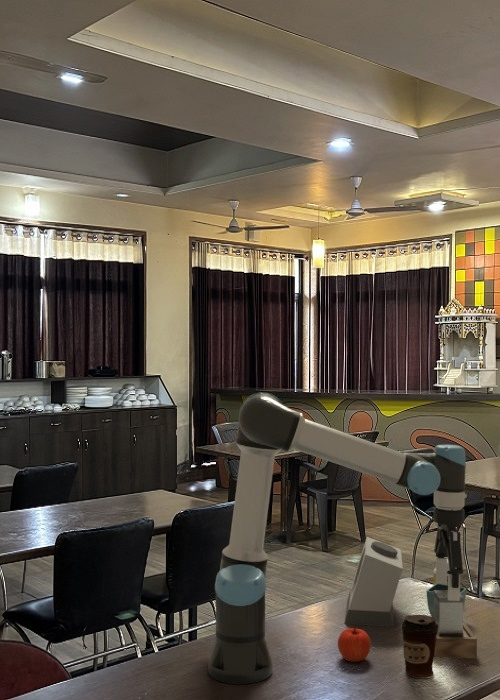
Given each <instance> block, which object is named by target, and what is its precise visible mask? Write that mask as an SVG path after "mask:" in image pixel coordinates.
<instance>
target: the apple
mask: <svg viewBox="0 0 500 700" xmlns="http://www.w3.org/2000/svg"><path fill="white" fill-rule="evenodd" d="M371 644H372V643H371V639H370V635H368V633H367V632H366V631H365V630H364V629H359V628H357V626H354V627H352V628H351V627H350V628H346V629H344V630H343V631H341V633H340V634H339V636H338V639H337V648H338V651H339V653H340V655H341V657H343V658H344V659H345V660H346V661H348V662H353V663H357V662H358V663H359V662H362V661H364V660H365V659H366V658H367V657H368V655H369V653H370V652H371V651H370V650H371Z"/></svg>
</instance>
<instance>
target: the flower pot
mask: <svg viewBox="0 0 500 700" xmlns="http://www.w3.org/2000/svg"><path fill="white" fill-rule="evenodd" d="M434 590H448V585H445V584H435V585H433V584H432V586H430V587H429V588H428V589H426V601H427V608H428V612H429V614H430V616H431V617H433V618H434ZM460 594H461V595H462V597H463V598H464V603H463V609H464V608H465V604H466V603H465V601H466V596H467V587H466V588H465V587H461V586H460Z"/></svg>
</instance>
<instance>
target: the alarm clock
mask: <svg viewBox="0 0 500 700" xmlns="http://www.w3.org/2000/svg"><path fill="white" fill-rule="evenodd" d="M359 558H360V559H359V561H358V564H357V567H356V571H355V574H354V577H353V580H352V583H351V584H352V585H351V587H350V591H349V594H348V596H347V602H346V608H345V618H344V624H345V625H347V624H348V625H361V626H378V627H379V626H380V627H381V626H382V627H395V623H394V603H393V602H394V599H395V596H396V593H397V588H398V586H399V582H400V579H401V576H402V572H403V569H404V567H403V559H402V558H403V557H402V549H400V548H398V547H395V546H392V545H390V544H388V543H385V542H383V541H382V542H381V541H380V540H377V539H374V538H372V537H369V536H366V539H365V542H364V545H363V547H362V551H361V555H360V557H359Z"/></svg>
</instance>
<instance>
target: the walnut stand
mask: <svg viewBox="0 0 500 700" xmlns="http://www.w3.org/2000/svg"><path fill="white" fill-rule="evenodd" d="M477 641H478V638H477V637H476V635H475V634H474V632H473V631H472V630H471V629H470V627H469V625H468V624H467V623H466V622H463V637H438V635H437V637H436V651H435V657H434V659H478V650H477V649H478V642H477Z"/></svg>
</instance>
